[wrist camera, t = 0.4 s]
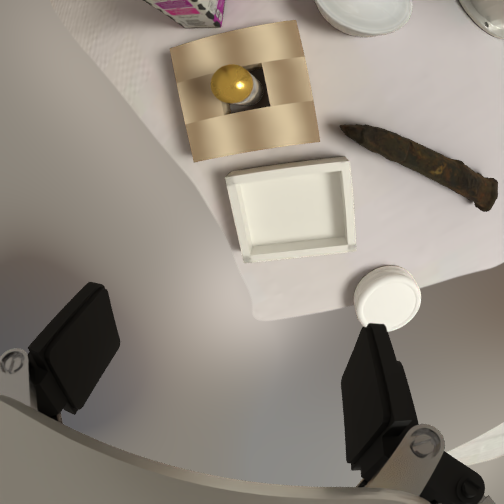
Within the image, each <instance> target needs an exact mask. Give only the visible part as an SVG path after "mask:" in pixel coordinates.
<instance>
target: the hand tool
mask: <svg viewBox="0 0 504 504" xmlns="http://www.w3.org/2000/svg"><path fill="white" fill-rule="evenodd" d="M340 128H341V130H342V131H343V132H344V133H345V135H347V136H348V137H349V138H351V139H353V140H354V141H356V142H357V143H359V144H360V145H362V146H363V147H365V148H367V149H368V150H370V151H372V152H375V153H378V154H380V155H382V156H384V157H385V158H386V159H388V160H390V161H394V162H397V163H399V164H401V165H403V166H405V167H408V168H410V169H412V170H414V171H417V172H419V173H420V174H422V175H424V176H426V177H428V178H430V179H432V180H434V181H436V182H438V183H440V184H441V185H443V186H446V187H448V188H449V189H451V190H453V191H455V192H456V193H458V194H461V195H462V196H464V197H466V198H467V199H469V200H472V201H474V203H475V206H476V207H478V208H479V209H480V210H481V211H484V212H485V211H486V212H487V211H489V210H491V208H492V206H493V205H494V203H495V200H496V199H497V197H498V182H497V180H495V179H494V178H485V177H483V176H482V175H481V174H479V173H475V172H474V171H473V170H471V169H470V168H469V167H468V166H467V165H464V163H463V162H462V161H460V160H454V159H450V158H448V157H445V156H444V155H442V154H440V153H437V152H435V151H433V150H431V149H429V148H426V147H424V146H423V145H420V144H418V143H416V142H414V141H412V140H410V139H407V138H404V137H402V136H400V135H398V134H396V133H393V132H390V131H387V130H385V129H382V128H378V127H372V126H369V125H358V124H356V125H340Z"/></svg>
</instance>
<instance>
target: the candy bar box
mask: <svg viewBox="0 0 504 504" xmlns="http://www.w3.org/2000/svg"><path fill="white" fill-rule="evenodd" d="M144 1H145V2H147V3H148V4H150V5H152V6H153V7H155V8H157V9H158V10H160V11H161V12H163V13H164V14H165V15H167V16H169V17H170V18H171V19H173V20H174V21H176V22H177V23H179V24H180V25H181V26H183V27H184V28H207V27H209V28H220V27H221V26H222V19H223V12H224V4H225V0H144Z"/></svg>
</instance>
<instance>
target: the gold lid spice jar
mask: <svg viewBox="0 0 504 504" xmlns="http://www.w3.org/2000/svg"><path fill="white" fill-rule="evenodd" d="M211 90H212V93H213V94H214V96H215V97H216V98H217V99H219V100H220V101H222V102H225V103H232V104H239V105H247V106H250V105H254V104H256V103H258V102H259V101H260V100H261V98H262V96H263V93H264V90H263V86H262V84H261V83H260V82H259V81H258V80H257V79H256V78H255V77H254V76H253V75H252V74H250V73H249V72H248V71H247V70H246V69H245V68H243V67H241V66H239V65H235V64H229V65H225V66H223V67H221V68H219V69H218V70H217V71H216V72H215V73H214V74H213V76H212V79H211Z"/></svg>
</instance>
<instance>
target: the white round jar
mask: <svg viewBox="0 0 504 504" xmlns="http://www.w3.org/2000/svg"><path fill="white" fill-rule="evenodd" d="M420 303H421V292H420V289H419V286H418V285H417V283H416V281H415V280H414V278H413V276H412V275H411V274H410V273H409V272H408V271H407V270H405V269H403V268H401V267H398V266H383V267H380V268H377V269H375V270H373V271H371V272H369V273H368V274H367V275H366V276H365V277H363V279H362V280H361V281H360V282H359V284H358V285H357V287H356V290H355V293H354V306H355V310H356V314H357V318H358V320H359V321H360V323H361V324H362V325H363V326H364V327H367V325H368V324H369V323H376V324H384V325H385V326H386V328H387V332H389V331H393V330H396V329H398V328H400V327H402V326H404V325H405V324H407V323H408V322H409V321H410V320H411V319H412V318H413V317H414V316H415V314H416V313H417V311H418V309H419V307H420Z"/></svg>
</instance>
